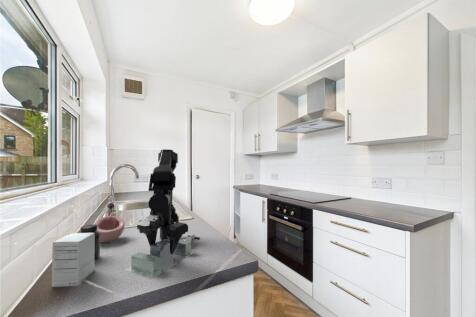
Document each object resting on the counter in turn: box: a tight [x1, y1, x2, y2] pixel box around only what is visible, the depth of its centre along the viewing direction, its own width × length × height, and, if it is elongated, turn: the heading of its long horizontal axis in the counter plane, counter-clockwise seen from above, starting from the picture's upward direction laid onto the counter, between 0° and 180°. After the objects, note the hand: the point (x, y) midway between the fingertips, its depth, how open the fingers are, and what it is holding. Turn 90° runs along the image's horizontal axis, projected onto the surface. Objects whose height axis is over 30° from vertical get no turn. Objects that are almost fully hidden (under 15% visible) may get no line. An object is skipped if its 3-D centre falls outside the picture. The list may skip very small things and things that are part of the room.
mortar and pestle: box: [93, 215, 126, 243], centre depth 89 cm, size 12×12×11 cm
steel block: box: [149, 239, 173, 265], centre depth 69 cm, size 4×6×6 cm
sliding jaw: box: [166, 234, 201, 255], centre depth 80 cm, size 10×12×4 cm
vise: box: [124, 250, 195, 280], centre depth 70 cm, size 12×20×5 cm, turn 154°
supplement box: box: [51, 232, 95, 288], centre depth 60 cm, size 7×7×13 cm
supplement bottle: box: [79, 223, 101, 262], centre depth 72 cm, size 7×7×12 cm
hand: (161, 251), depth 69 cm, fingers open, 9 cm apart
